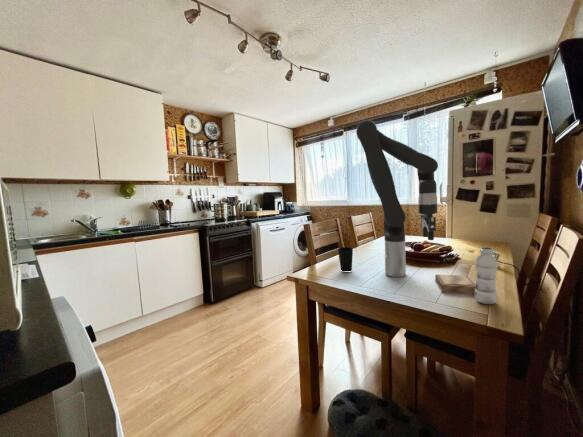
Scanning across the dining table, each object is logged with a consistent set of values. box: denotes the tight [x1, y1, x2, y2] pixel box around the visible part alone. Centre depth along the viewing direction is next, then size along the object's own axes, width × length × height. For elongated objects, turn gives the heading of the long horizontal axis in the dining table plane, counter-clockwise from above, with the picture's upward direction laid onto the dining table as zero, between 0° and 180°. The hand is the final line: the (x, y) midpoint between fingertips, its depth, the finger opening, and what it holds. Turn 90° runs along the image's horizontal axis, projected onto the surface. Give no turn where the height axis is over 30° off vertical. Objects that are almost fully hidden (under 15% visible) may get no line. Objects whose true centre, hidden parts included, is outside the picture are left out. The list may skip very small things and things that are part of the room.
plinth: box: [434, 274, 476, 295], centre depth 105 cm, size 12×12×3 cm
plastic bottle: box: [473, 246, 499, 305], centre depth 90 cm, size 6×7×20 cm
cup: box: [337, 246, 354, 271], centre depth 133 cm, size 8×8×12 cm
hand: (428, 238), depth 116 cm, fingers open, 8 cm apart
